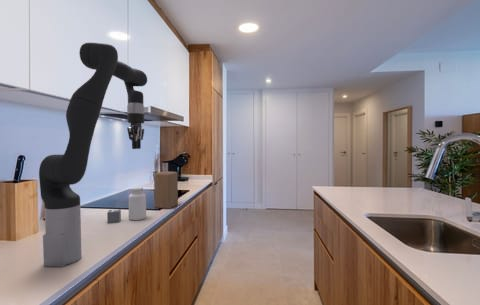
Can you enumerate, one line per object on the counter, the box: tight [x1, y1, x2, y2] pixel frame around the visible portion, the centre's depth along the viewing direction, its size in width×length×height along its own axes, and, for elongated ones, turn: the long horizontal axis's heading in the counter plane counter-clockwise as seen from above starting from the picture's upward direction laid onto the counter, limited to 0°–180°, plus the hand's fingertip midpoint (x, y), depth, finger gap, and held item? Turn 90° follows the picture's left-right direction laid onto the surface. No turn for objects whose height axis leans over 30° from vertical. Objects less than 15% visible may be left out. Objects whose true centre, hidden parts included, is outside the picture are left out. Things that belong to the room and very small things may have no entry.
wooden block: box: [153, 171, 179, 210], centre depth 151 cm, size 10×10×20 cm
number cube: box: [106, 208, 122, 224], centre depth 123 cm, size 5×5×5 cm
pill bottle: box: [128, 186, 147, 221], centre depth 128 cm, size 8×8×15 cm
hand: (136, 148), depth 127 cm, fingers open, 3 cm apart
